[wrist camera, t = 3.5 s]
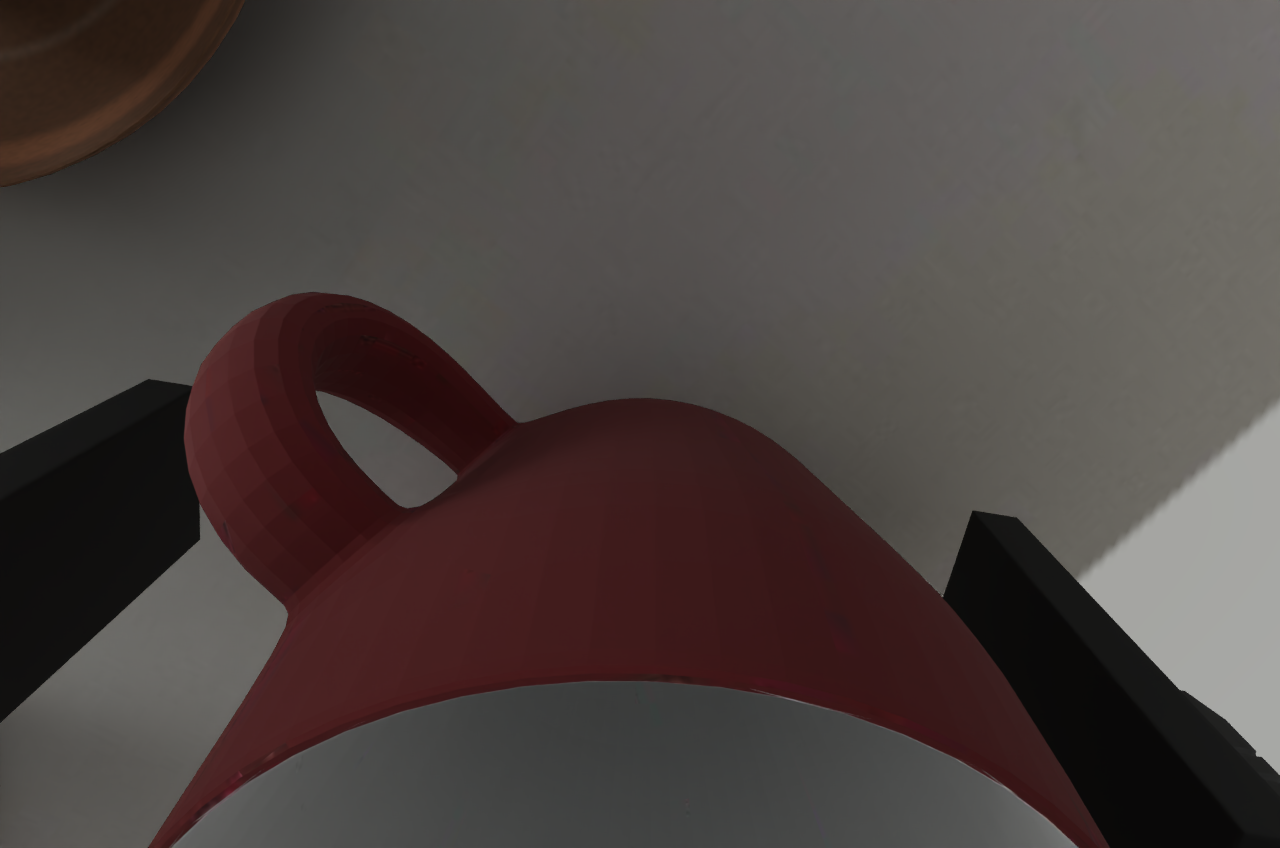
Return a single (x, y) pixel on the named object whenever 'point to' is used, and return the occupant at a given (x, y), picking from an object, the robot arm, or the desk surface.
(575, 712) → the mug
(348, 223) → the desk surface
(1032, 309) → the desk surface
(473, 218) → the desk surface
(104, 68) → the cup and saucer
